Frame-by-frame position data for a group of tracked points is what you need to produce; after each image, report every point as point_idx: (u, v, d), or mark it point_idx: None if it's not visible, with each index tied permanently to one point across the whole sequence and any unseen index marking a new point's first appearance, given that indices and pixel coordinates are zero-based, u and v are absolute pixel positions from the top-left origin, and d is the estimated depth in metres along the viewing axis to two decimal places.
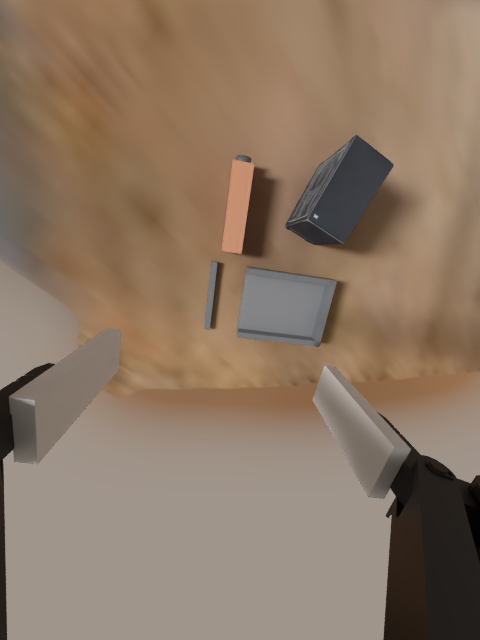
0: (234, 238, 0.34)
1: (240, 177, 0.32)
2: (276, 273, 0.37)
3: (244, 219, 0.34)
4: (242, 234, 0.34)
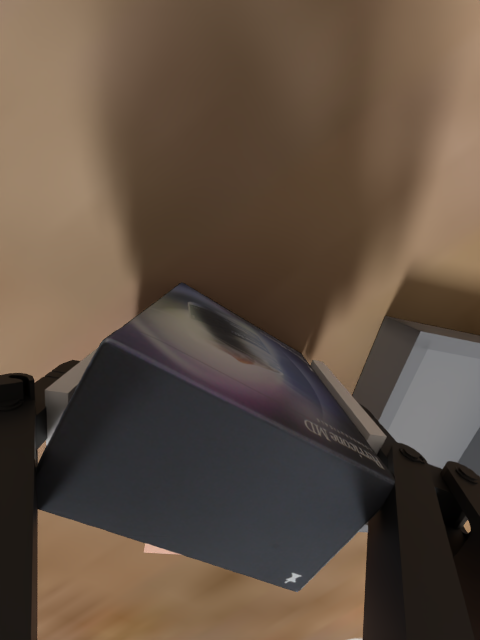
0: None
1: None
2: None
3: None
4: None
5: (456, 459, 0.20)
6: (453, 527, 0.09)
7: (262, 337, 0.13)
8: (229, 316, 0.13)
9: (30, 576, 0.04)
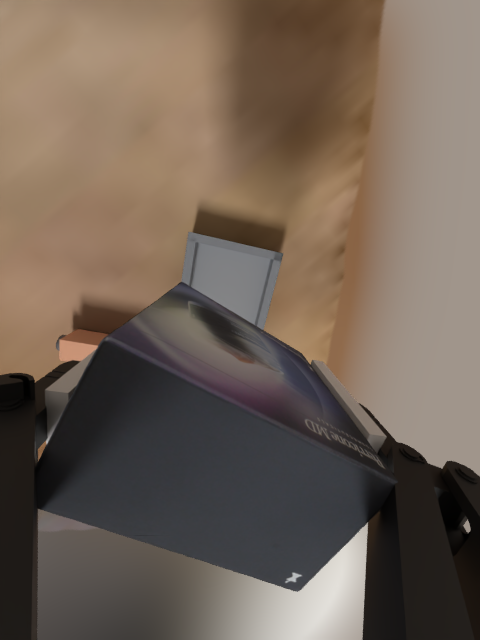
0: None
1: (75, 353, 0.30)
2: None
3: None
4: None
5: None
6: (452, 526, 0.09)
7: (262, 336, 0.13)
8: (229, 315, 0.13)
9: (30, 576, 0.04)
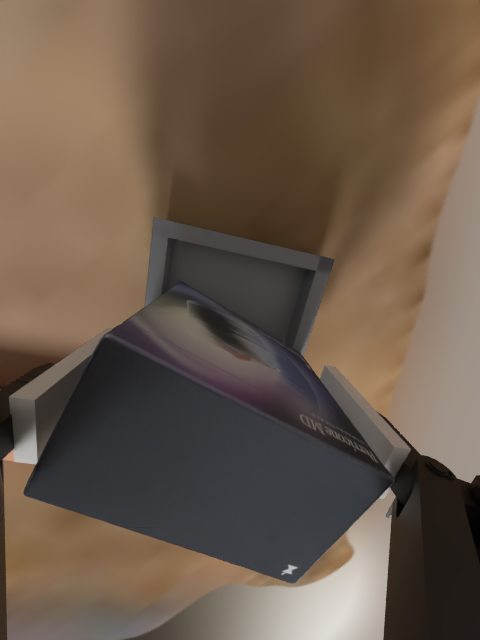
0: None
1: None
2: None
3: None
4: None
5: None
6: None
7: (260, 335, 0.14)
8: (228, 314, 0.13)
9: None
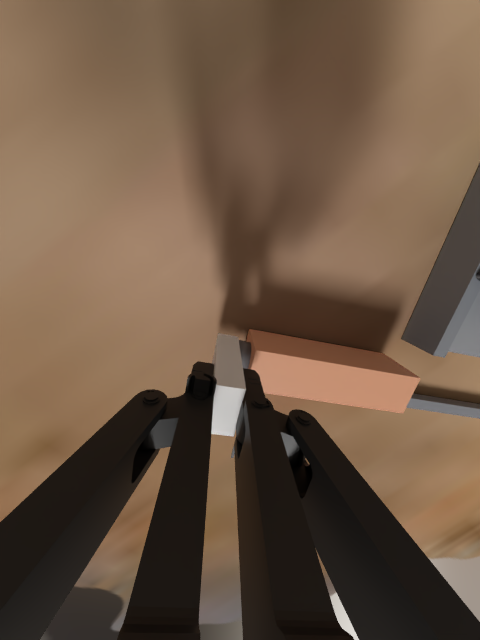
0: (386, 390, 0.16)
1: (279, 376, 0.15)
2: (466, 294, 0.16)
3: (356, 371, 0.16)
4: (384, 375, 0.16)
5: None
6: (298, 464, 0.10)
7: None
8: None
9: (202, 546, 0.05)
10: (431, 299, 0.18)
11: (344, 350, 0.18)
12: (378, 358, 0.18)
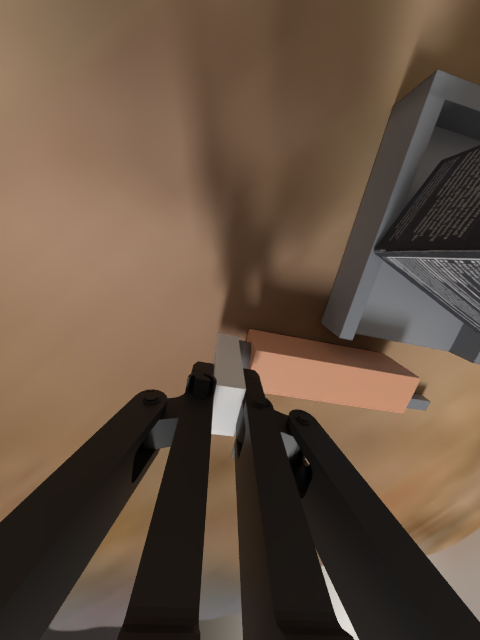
0: (387, 390, 0.16)
1: (279, 376, 0.15)
2: (366, 271, 0.15)
3: (356, 371, 0.16)
4: (384, 375, 0.16)
5: None
6: (299, 464, 0.10)
7: None
8: None
9: (202, 546, 0.05)
10: (342, 279, 0.17)
11: (344, 350, 0.18)
12: (378, 358, 0.18)
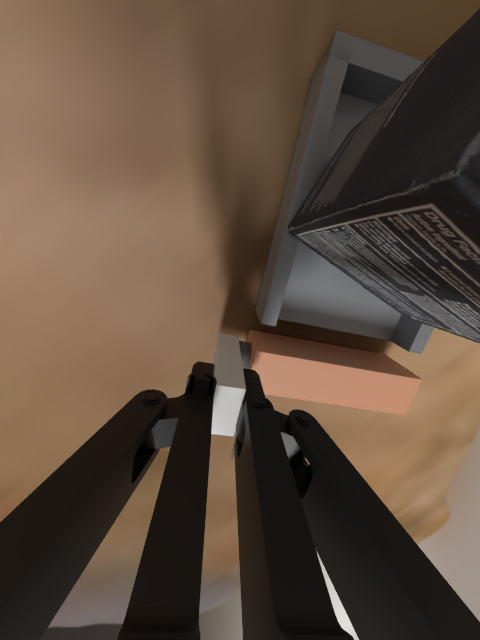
0: (388, 391, 0.16)
1: (279, 377, 0.15)
2: (282, 252, 0.14)
3: (358, 372, 0.16)
4: (386, 377, 0.16)
5: None
6: (299, 465, 0.10)
7: None
8: None
9: (202, 546, 0.05)
10: (269, 263, 0.16)
11: (345, 351, 0.18)
12: (380, 359, 0.18)
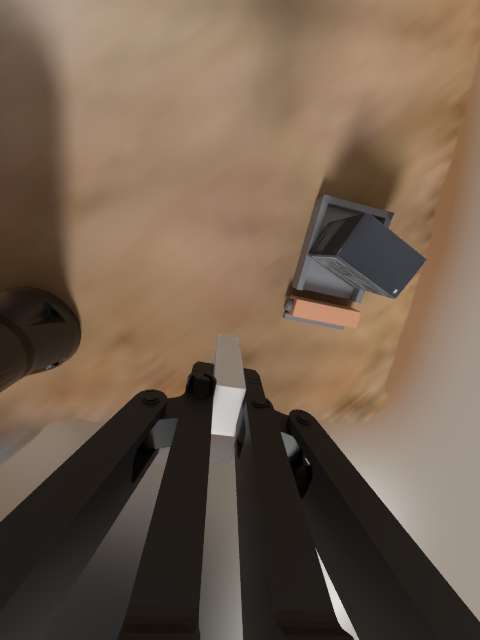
0: (348, 317, 0.41)
1: (305, 310, 0.40)
2: (305, 262, 0.38)
3: (335, 309, 0.40)
4: (346, 311, 0.40)
5: None
6: (299, 465, 0.10)
7: None
8: None
9: (201, 546, 0.05)
10: (299, 266, 0.41)
11: (331, 304, 0.43)
12: (346, 307, 0.43)
